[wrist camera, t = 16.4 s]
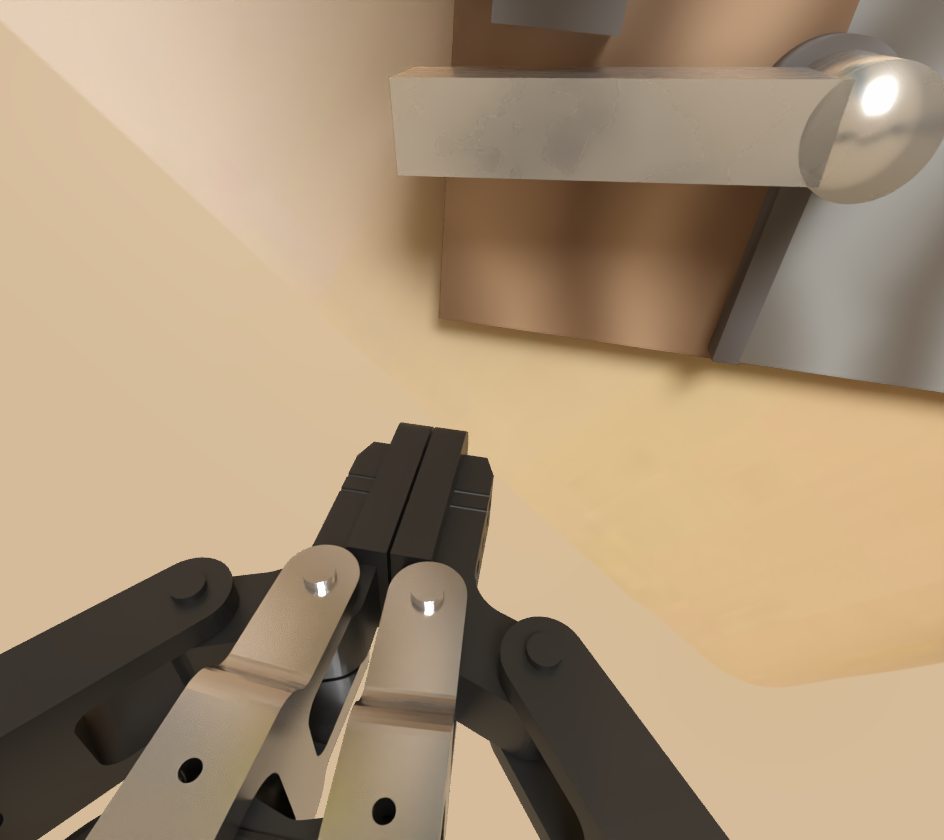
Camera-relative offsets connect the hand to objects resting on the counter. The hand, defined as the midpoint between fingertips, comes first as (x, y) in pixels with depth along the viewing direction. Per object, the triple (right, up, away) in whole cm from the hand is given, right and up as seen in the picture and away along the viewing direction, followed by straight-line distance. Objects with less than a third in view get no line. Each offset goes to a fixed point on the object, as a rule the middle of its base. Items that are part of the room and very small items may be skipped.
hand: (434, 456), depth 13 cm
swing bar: (+7, +12, +8) cm, 16 cm away
